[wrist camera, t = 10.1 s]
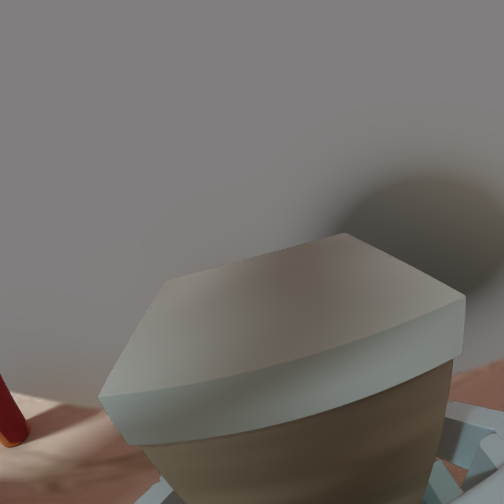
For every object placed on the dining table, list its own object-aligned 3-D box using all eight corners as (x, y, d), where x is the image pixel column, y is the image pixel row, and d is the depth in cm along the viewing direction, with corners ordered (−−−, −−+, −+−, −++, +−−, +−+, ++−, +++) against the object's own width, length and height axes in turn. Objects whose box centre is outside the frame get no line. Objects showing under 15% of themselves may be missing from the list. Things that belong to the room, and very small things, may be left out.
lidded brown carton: (271, 585, 6) (96, 396, 3) (260, 495, 11) (165, 280, 9) (405, 548, 6) (465, 296, 4) (368, 466, 11) (344, 232, 9)
